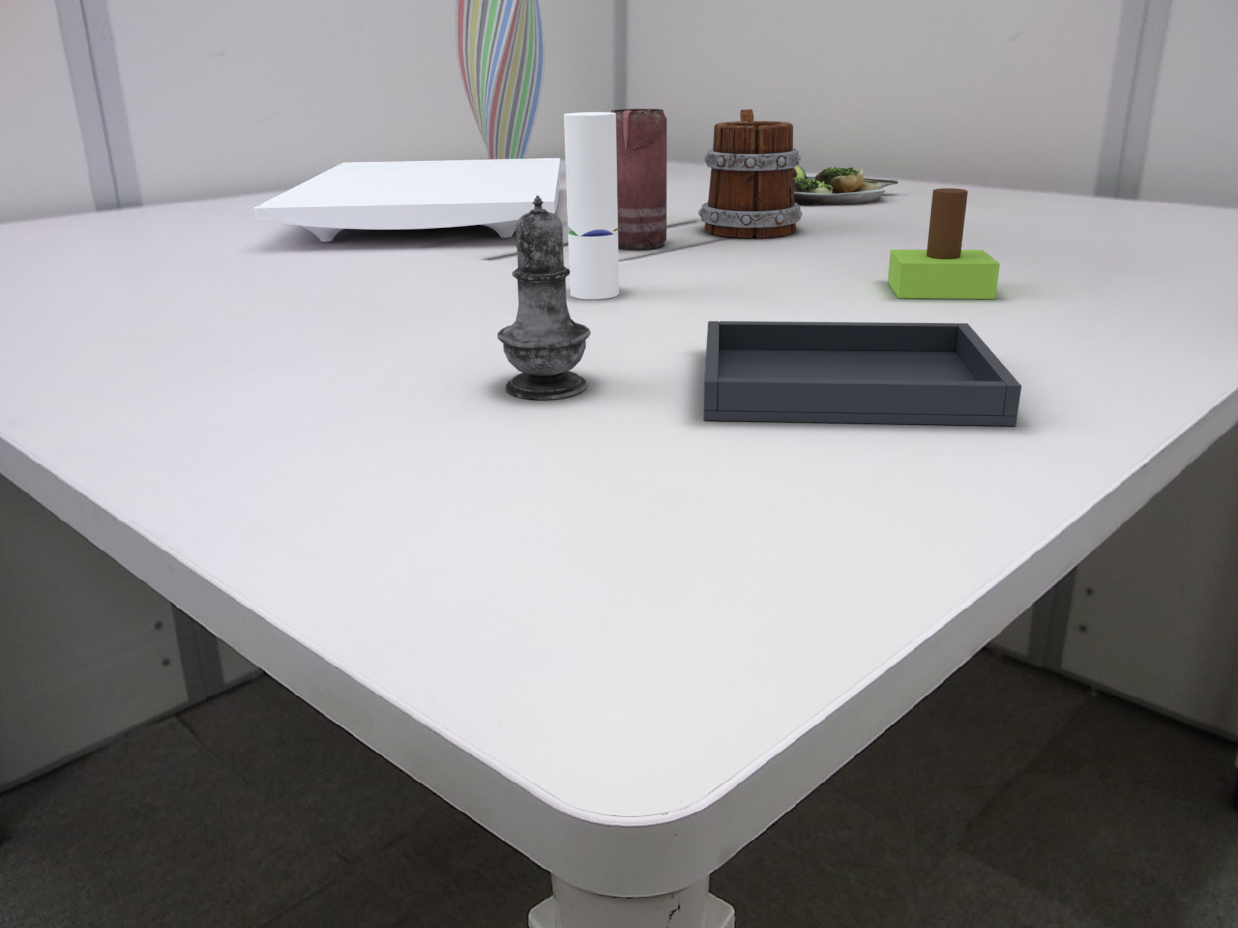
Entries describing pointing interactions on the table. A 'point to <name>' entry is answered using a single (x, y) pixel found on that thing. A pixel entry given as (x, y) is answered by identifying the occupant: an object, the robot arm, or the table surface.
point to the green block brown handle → (944, 258)
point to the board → (417, 195)
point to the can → (641, 178)
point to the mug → (751, 179)
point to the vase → (502, 70)
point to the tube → (592, 204)
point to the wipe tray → (855, 374)
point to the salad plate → (836, 187)
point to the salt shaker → (543, 314)
